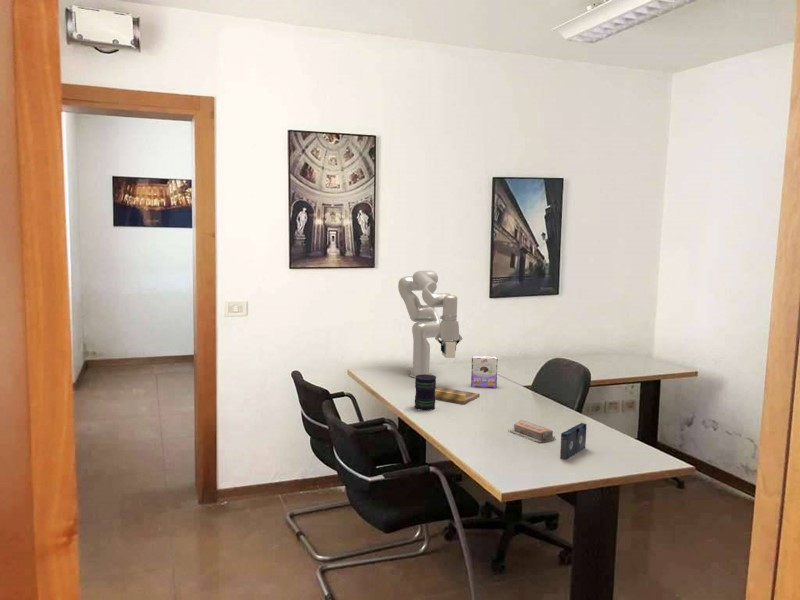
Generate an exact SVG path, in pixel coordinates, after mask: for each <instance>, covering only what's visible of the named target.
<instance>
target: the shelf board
mask: <svg viewBox="0 0 800 600" xmlns="http://www.w3.org/2000/svg"><path fill="white" fill-rule="evenodd" d="M480 395H481V394H480V393H478V392H477V393H476V392H471V391H465V390H461V389H460V390H459V389H455V388H454V389H452V388H447V387H442V386H436V389H435V401H436V400H438V401H442V402H448V403H453V404H458V403H459V405H466V404H469V403H470V402H472V401H474V400H476V399H478V398H479V397H481V396H480ZM477 397H478V398H477ZM475 398H476V399H475Z"/></svg>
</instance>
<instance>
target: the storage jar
mask: <svg viewBox="0 0 800 600" xmlns="http://www.w3.org/2000/svg"><path fill="white" fill-rule="evenodd" d="M414 384H415V385H414V387H415V396H414V408H415V409H416V410H418V411H427V412H428V411H433V410H435V409H436V399H435V389H436V387H437V376H436V375H426V374H423V375H417V376H416V378H415V382H414Z"/></svg>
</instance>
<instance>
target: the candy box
mask: <svg viewBox="0 0 800 600" xmlns="http://www.w3.org/2000/svg"><path fill="white" fill-rule="evenodd" d="M470 380H471V381H470V388H482V387H488V388H490V389H497V386H498V384H497V383H498V357H497V356H488V355H471V374H470Z"/></svg>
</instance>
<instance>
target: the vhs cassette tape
mask: <svg viewBox="0 0 800 600" xmlns="http://www.w3.org/2000/svg"><path fill="white" fill-rule="evenodd" d="M587 427H588V426H587V423H584V422H580V423H578V424H577V425H574V426H573V427H570V428H569V429H567V430H565V431H563V432H561V433H560V454H559V458H560V459H561V460H564V461H567V460H568V459H570V458H571V457H573V456H575V455H576V454H578V453H580V452H581V451H583V450H584V449H586V442H587V429H588V428H587Z"/></svg>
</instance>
